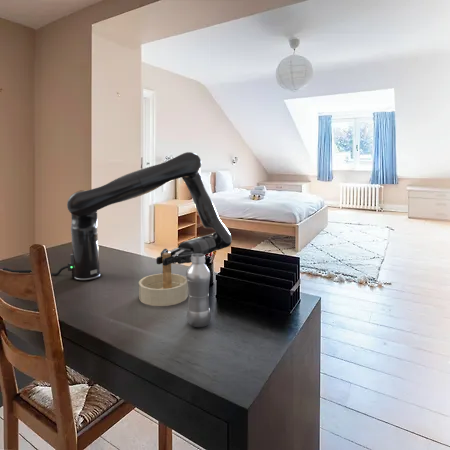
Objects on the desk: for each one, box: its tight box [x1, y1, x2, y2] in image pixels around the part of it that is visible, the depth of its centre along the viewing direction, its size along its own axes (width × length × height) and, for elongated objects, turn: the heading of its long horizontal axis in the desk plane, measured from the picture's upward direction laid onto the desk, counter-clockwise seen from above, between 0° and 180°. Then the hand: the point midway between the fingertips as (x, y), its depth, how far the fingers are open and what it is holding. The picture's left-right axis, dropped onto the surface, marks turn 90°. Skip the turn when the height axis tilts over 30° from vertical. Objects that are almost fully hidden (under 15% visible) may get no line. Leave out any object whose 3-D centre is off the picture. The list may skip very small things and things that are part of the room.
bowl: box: [138, 272, 189, 307], centre depth 116 cm, size 16×16×6 cm
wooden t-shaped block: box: [160, 252, 172, 289], centre depth 113 cm, size 5×2×14 cm, turn 59°
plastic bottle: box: [185, 254, 212, 328], centre depth 96 cm, size 6×7×20 cm
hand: (160, 261), depth 110 cm, fingers closed on wooden t-shaped block, 2 cm apart
